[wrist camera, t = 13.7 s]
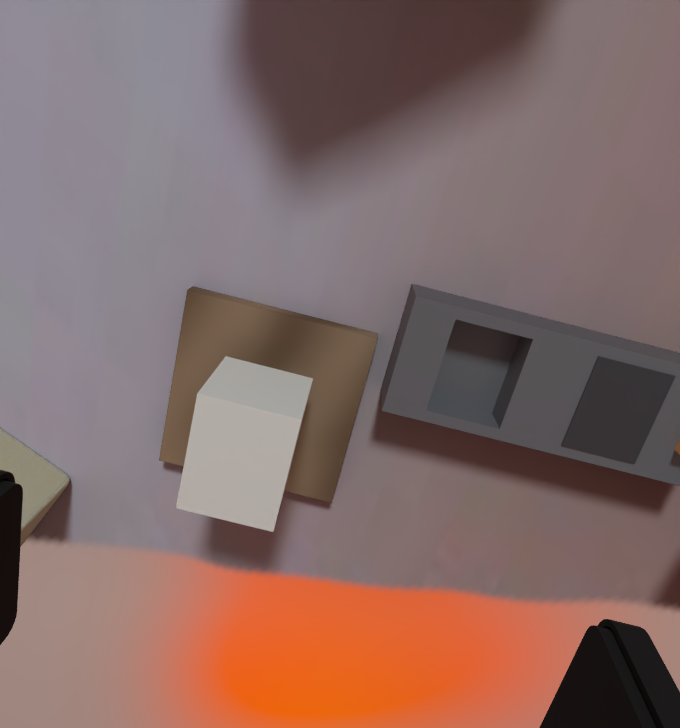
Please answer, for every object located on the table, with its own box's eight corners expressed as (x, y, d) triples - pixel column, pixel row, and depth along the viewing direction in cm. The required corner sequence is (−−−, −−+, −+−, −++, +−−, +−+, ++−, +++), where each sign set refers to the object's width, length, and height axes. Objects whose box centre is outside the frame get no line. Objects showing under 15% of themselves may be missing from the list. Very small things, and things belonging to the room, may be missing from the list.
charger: (316, 365, 31) (301, 419, 24) (293, 457, 33) (273, 532, 26) (235, 344, 31) (197, 393, 24) (215, 438, 33) (176, 508, 26)
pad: (377, 333, 31) (378, 338, 30) (332, 493, 34) (331, 502, 33) (192, 286, 31) (187, 290, 30) (164, 452, 34) (159, 460, 33)
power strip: (726, 364, 31) (773, 391, 27) (677, 464, 33) (715, 501, 29) (411, 283, 30) (417, 299, 27) (380, 389, 32) (382, 417, 29)
